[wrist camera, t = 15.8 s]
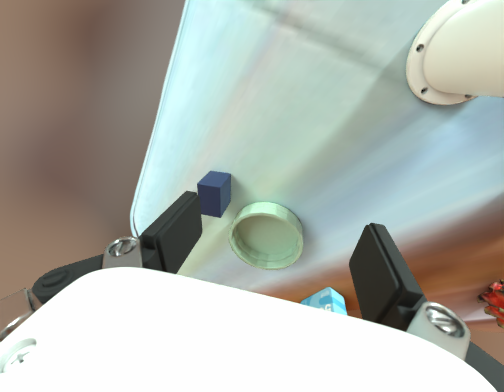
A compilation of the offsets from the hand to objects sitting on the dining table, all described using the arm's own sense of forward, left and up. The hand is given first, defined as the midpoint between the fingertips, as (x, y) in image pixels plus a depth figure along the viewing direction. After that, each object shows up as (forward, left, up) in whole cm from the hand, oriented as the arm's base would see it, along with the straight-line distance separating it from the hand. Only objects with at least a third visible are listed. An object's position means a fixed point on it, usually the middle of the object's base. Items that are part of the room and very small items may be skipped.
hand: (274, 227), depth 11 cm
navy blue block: (+14, +14, -28) cm, 34 cm away
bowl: (+2, +24, -28) cm, 37 cm away
